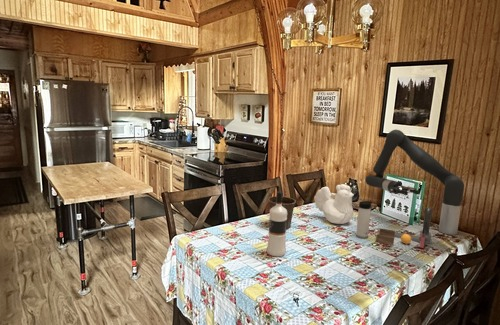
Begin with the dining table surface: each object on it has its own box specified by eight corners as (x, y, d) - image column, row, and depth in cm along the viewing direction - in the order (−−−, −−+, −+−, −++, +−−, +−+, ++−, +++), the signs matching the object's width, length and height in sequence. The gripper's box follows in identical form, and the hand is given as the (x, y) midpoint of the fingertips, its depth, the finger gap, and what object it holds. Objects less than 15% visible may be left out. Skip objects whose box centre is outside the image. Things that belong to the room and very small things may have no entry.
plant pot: (298, 225, 190) (300, 199, 188) (287, 233, 177) (288, 205, 174) (274, 219, 199) (276, 194, 196) (261, 227, 185) (263, 200, 183)
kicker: (419, 237, 176) (423, 206, 173) (429, 239, 174) (433, 207, 171) (420, 247, 163) (424, 213, 161) (431, 249, 161) (435, 215, 158)
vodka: (282, 258, 146) (286, 195, 141) (263, 254, 150) (266, 193, 145) (288, 250, 155) (291, 191, 150) (270, 247, 158) (272, 188, 153)
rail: (386, 232, 184) (386, 230, 183) (431, 240, 174) (431, 238, 174) (385, 235, 179) (385, 233, 179) (432, 244, 169) (432, 241, 169)
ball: (400, 240, 172) (401, 232, 172) (410, 242, 170) (411, 233, 169) (400, 244, 168) (401, 235, 167) (410, 246, 166) (411, 237, 165)
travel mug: (369, 239, 173) (373, 203, 170) (356, 237, 174) (360, 202, 171) (367, 234, 179) (371, 200, 176) (355, 233, 180) (358, 199, 177)
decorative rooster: (357, 223, 197) (360, 184, 193) (342, 229, 187) (345, 187, 183) (324, 213, 216) (327, 177, 212) (309, 217, 206) (311, 179, 202)
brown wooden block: (377, 234, 180) (378, 227, 179) (394, 237, 176) (395, 230, 176) (376, 242, 169) (376, 234, 169) (393, 245, 166) (394, 238, 165)
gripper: (383, 180, 192) (404, 187, 177) (401, 180, 196) (423, 186, 181) (381, 192, 193) (402, 200, 178) (400, 191, 198) (422, 199, 183)
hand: (413, 193), depth 180 cm, fingers open, 8 cm apart
